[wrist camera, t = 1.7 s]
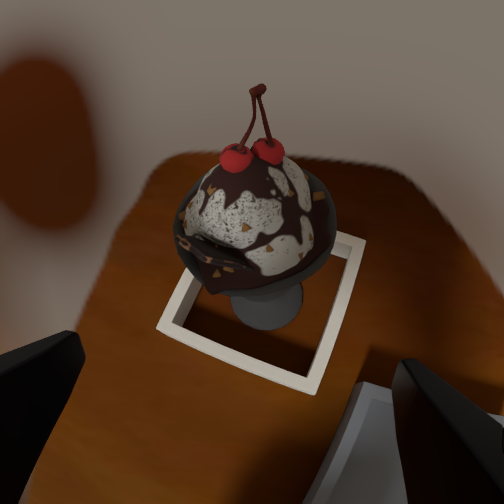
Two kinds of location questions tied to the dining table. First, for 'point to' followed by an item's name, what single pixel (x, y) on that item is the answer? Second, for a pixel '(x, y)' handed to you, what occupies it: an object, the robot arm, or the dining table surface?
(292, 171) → the sundae
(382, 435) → the tray
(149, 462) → the dining table surface
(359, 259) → the white square frame
